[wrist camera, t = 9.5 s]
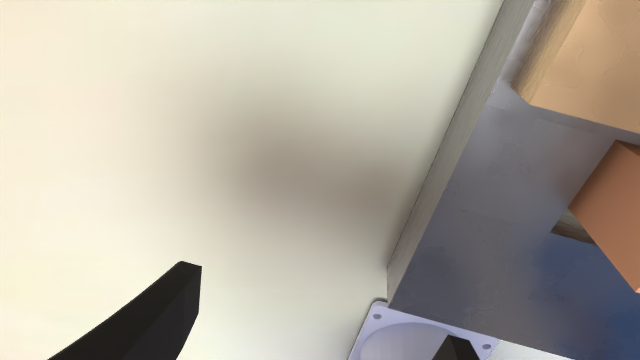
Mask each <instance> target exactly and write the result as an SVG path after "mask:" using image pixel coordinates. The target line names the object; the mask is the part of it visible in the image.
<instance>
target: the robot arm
mask: <svg viewBox="0 0 640 360" xmlns="http://www.w3.org/2000/svg"><path fill="white" fill-rule="evenodd" d="M201 271H202V266H198V265H195V264H191V263H187V262H184V261H180V262H178V263H177V264H175V265H174V266H173V267H172V268H171V269H170V270H168V271H167V272H166V273H165V274H164V275H162V276H161V277H160V278H159V279H158V280H157V281H155V282H154V283H153V284H152V285H150V286H149V287H148V288H147V289H145V290H144V291H143V292H142V293H141V294H139V295H138V296H137V297H135V298H134V299H133V300H132V301H130V302H129V303H128V304H126V305H125V306H124V307H122V308H121V309H120V310H118V311H117V312H116V313H115V314H113V315H112V316H111V317H109V318H108V319H106V320H105V321H104V322H102V323H101V324H99V325H98V326H97V327H95V328H94V329H92V330H91V331H89V332H88V333H87V334H85V335H84V336H82V337H81V338H79V339H78V340H77V341H75V342H74V343H72V344H71V345H69V346H68V347H66V348H65V349H63V350H62V351H60V352H59V353H57V354H56V355H54V356H52V357H51V358H49V359H48V360H176V359H177V357H178V355H179V353H180V352H181V350H182V348H183V346H184V344H185V342H186V340H187V338H188V335H189V333H190V331H191V329H192V327H193V324H194V322H195V320H196V318H197V315H198V312H199V299H200V285H201ZM498 342H499V339H498V338H494V337H490V336H487V335H483V334H479V333H476V332H472V331H469V330H465V329H461V328H458V327H454V326H450V325H447V324H443V323H439V322H436V321H432V320H429V319H425V318H421V317H418V316H414V315H410V314H407V313H403V312H400V311H396V310H392V309H389V308H388V303H386V302H382V301H376V302H374V303H373V304H372V306H371V308H370V310H369V312H368V315H367V317H366V319H365V321H364V324H363V326H362V328H361V330H360V333H359V335H358V337H357V340H356V342H355V344H354V346H353V349H352V351H351V353H350V355H349V358H348V360H485V359H486V358H487V357H488V356H489V354H490V353H491V352H492V350H493V349H494V348H495V347H496V345H497V344H498Z"/></svg>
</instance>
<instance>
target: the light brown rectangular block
mask: <svg viewBox="0 0 640 360" xmlns="http://www.w3.org/2000/svg"><path fill="white" fill-rule="evenodd" d="M567 208H568V209H569V210H570V211H571V213H572V214H573V215H574V216H575V218H576V219H577V220H578V221H579V223H580V224H581V225H582V226H583V228H584V229H585V230H586V231H587V233H588V234H589V235H590V236H591V238H592V239H593V240H594V241H595V243H596V244H597V245H598V246H599V248H600V249H601V250H602V251H603V253H604V254H605V255H606V256H607V258H608V259H609V260H610V261H611V263H612V264H613V265H614V266H615V268H616V269H617V270H618V271H619V273H620V274H621V275H622V276H623V278H624V279H625V280H626V281H627V283H628V284H629V285H630V286H631V288H632V289H633V290H634V291H635V292H637V293H640V146H639V145H635V144H631V143H628V142H624V141H620V140H615V141H614V143H613V144H612V146H611V147H610V148H609V150H608V151H607V153H606V154H605V155H604V157H603V158H602V160H601V161H600V162H599V164H598V165H597V167H596V168H595V169H594V171H593V172H592V174H591V175H590V176H589V178H588V179H587V181H586V182H585V184H584V185H583V186H582V188H581V189H580V191H579V192H578V193H577V195H576V196H575V198H574V199H573V200H572V202H571V203H570V205H569V206H568V207H567Z"/></svg>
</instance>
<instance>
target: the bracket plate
mask: <svg viewBox="0 0 640 360" xmlns="http://www.w3.org/2000/svg"><path fill="white" fill-rule="evenodd" d="M615 140H620V141H624V142H628V143H631V144H635V145H639V146H640V0H504V2H503V5H502V7H501V9H500V12H499V14H498V16H497V18H496V21H495V23H494V25H493V27H492V30H491V32H490V34H489V37H488V39H487V41H486V43H485V46H484V48H483V50H482V52H481V55H480V57H479V59H478V62H477V64H476V66H475V68H474V71H473V73H472V75H471V78H470V80H469V82H468V84H467V87H466V89H465V91H464V93H463V96H462V98H461V100H460V103H459V105H458V107H457V109H456V112H455V114H454V116H453V118H452V121H451V123H450V125H449V128H448V130H447V132H446V134H445V137H444V139H443V141H442V143H441V146H440V148H439V150H438V153H437V155H436V157H435V159H434V162H433V164H432V166H431V169H430V171H429V173H428V175H427V178H426V180H425V182H424V184H423V187H422V189H421V191H420V194H419V196H418V198H417V200H416V203H415V205H414V207H413V209H412V212H411V214H410V216H409V219H408V221H407V223H406V225H405V228H404V230H403V232H402V234H401V237H400V239H399V241H398V244H397V246H396V248H395V250H394V253H393V255H392V257H391V259H390V262H389V264H388V266H387V300H388V308H389V309H392V310H396V311H400V312H403V313H407V314H410V315H414V316H418V317H421V318H425V319H429V320H432V321H436V322H439V323H443V324H447V325H450V326H454V327H458V328H461V329H465V330H469V331H472V332H476V333H479V334H483V335H487V336H490V337H494V338H498V339H501V340H505V341H509V342H512V343H516V344H519V345H523V346H527V347H530V348H534V349H538V350H541V351H545V352H549V353H552V354H556V355H559V356H563V357H567V358H570V359H574V360H640V293H637V292H635V291H634V290H633V289H632V288H631V286H630V285H629V284H628V283H627V281H626V280H625V279H624V278H623V276H622V275H621V274H620V273H619V271H618V270H617V269H616V268H615V266H614V265H613V264H612V263H611V261H610V260H609V259H608V258H607V256H606V255H605V254H604V253H603V251H602V250H601V249H600V248H599V246H598V245H597V244H596V243H595V241H594V240H593V239H592V238H591V236H590V235H589V234H588V233H587V231H586V230H585V229H584V228H583V226H582V225H581V224H580V223H579V221H578V220H577V219H576V218H575V216H574V215H573V214H572V213H571V211H570V210H569V209H568V208H567V207H568V206H569V205H570V203H571V202H572V200H573V199H574V198H575V196H576V195H577V193H578V192H579V191H580V189H581V188H582V186H583V185H584V184H585V182H586V181H587V179H588V178H589V176H590V175H591V174H592V172H593V171H594V169H595V168H596V167H597V165H598V164H599V162H600V161H601V160H602V158H603V157H604V155H605V154H606V153H607V151H608V150H609V148H610V147H611V146H612V144H613V143H614V141H615Z"/></svg>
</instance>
